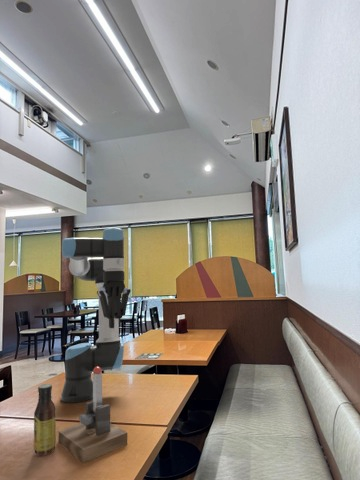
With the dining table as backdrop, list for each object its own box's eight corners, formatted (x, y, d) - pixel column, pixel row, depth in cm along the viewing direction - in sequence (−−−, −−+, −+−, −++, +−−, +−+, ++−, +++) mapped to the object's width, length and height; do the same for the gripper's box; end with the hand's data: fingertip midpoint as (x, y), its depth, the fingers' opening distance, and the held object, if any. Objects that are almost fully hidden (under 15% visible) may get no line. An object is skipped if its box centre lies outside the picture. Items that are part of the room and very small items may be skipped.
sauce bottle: (37, 447, 104) (38, 382, 107) (58, 446, 105) (58, 381, 108) (30, 458, 98) (31, 389, 101) (51, 456, 99) (52, 387, 101)
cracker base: (58, 442, 107) (58, 405, 109) (99, 427, 117) (99, 393, 119) (83, 463, 94) (83, 420, 96) (127, 444, 104) (126, 406, 106)
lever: (79, 421, 106) (78, 369, 108) (98, 415, 111) (97, 364, 113) (85, 425, 103) (85, 371, 105) (104, 418, 107) (104, 367, 110)
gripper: (103, 270, 112) (103, 341, 109) (134, 269, 121) (136, 335, 118) (92, 271, 117) (93, 339, 114) (123, 271, 126) (124, 334, 123)
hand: (115, 337), depth 116 cm, fingers closed
